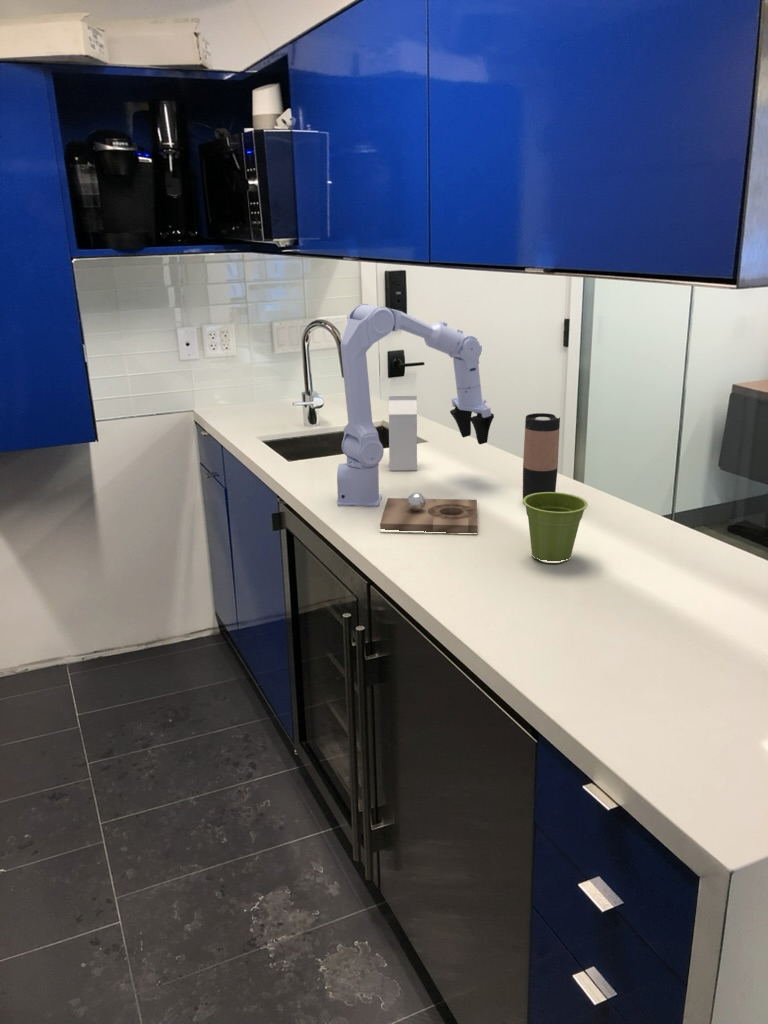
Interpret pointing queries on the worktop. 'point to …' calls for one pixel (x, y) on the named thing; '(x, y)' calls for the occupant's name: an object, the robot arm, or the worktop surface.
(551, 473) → the travel mug
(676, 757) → the worktop surface
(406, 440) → the milk carton
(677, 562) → the worktop surface
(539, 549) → the plant pot
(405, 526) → the deck
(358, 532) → the worktop surface
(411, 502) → the ball
